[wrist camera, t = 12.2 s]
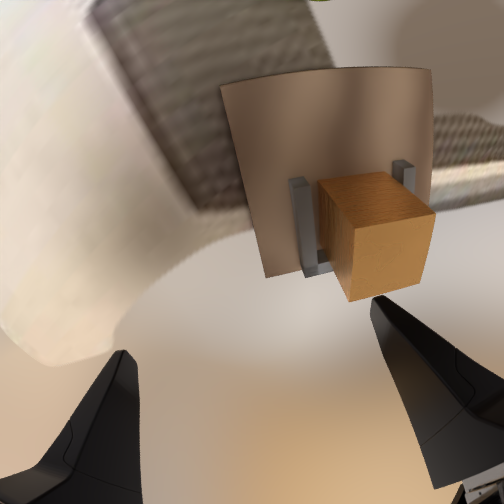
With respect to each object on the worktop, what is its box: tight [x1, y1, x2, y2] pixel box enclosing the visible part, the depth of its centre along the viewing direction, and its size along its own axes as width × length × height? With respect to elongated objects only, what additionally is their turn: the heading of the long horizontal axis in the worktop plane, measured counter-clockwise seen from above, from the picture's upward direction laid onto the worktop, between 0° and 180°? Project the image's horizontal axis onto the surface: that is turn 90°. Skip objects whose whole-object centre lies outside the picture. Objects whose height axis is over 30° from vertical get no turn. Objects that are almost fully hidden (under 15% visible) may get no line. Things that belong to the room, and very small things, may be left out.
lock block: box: [317, 171, 436, 302], centre depth 17 cm, size 5×5×6 cm
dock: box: [220, 67, 433, 278], centre depth 18 cm, size 14×14×3 cm
